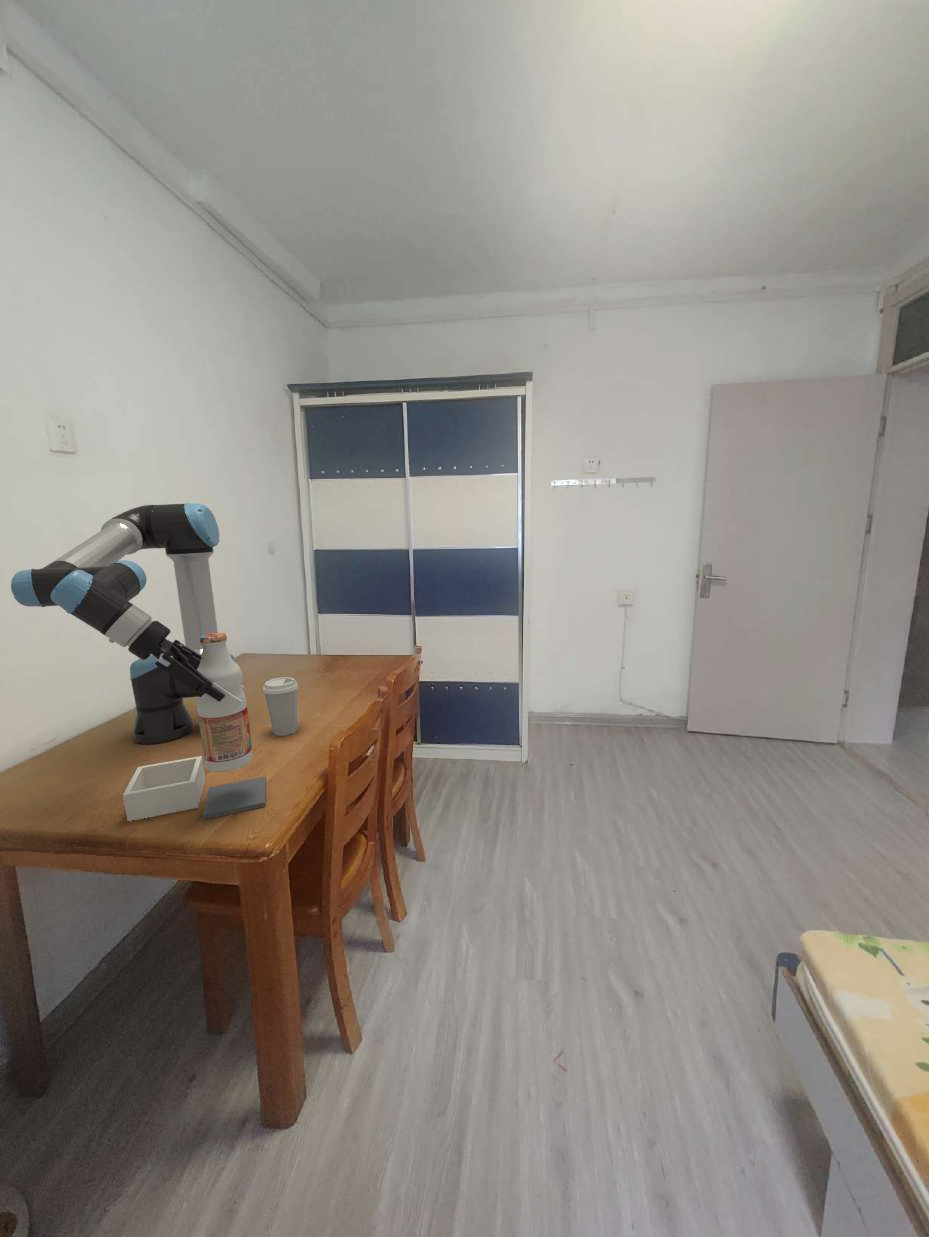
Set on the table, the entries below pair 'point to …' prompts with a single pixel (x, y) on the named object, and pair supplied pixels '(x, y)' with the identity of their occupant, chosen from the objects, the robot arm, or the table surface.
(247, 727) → the fruit juice
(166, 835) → the table surface
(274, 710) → the coffee cup
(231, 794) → the mat
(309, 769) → the table surface
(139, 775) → the frame
